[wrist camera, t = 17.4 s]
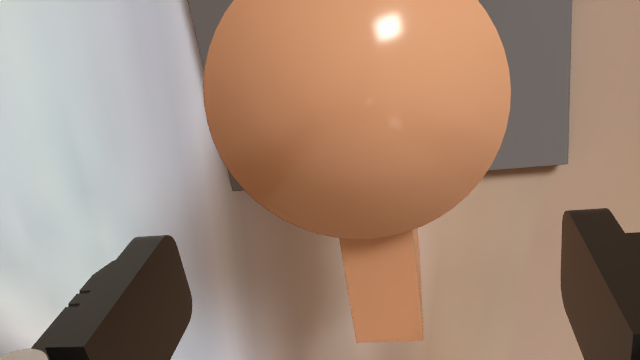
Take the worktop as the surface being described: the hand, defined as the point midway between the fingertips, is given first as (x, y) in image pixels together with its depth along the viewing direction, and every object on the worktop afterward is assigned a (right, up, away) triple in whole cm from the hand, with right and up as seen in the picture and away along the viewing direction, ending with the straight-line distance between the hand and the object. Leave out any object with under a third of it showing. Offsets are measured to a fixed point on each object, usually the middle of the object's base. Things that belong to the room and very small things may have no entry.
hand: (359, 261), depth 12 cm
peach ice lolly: (+1, +5, +7) cm, 9 cm away
